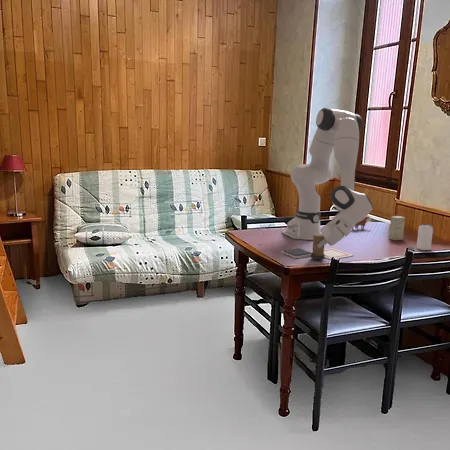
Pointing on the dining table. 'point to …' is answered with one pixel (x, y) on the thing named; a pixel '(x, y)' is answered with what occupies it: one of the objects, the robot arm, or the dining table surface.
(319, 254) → the stamp
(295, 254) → the ink pad
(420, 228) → the can
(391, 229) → the skincare box
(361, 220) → the bull figurine
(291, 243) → the dining table surface
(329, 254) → the marked board
